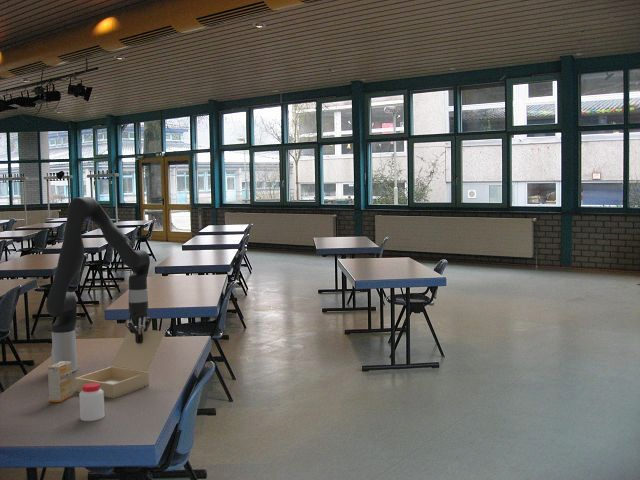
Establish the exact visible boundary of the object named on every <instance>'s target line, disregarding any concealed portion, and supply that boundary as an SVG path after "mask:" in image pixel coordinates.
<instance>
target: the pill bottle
mask: <svg viewBox="0 0 640 480" xmlns="http://www.w3.org/2000/svg"><path fill="white" fill-rule="evenodd" d="M82 388H83V390H82V391H81V392H79V395H78V397H79V399H78V400H79V416H80V420H81V421H83V422H93V421H94V422H95V421H98V420H99V421H100V420H101V419H103V418H105V413H106V412H105V396H104V391H103V390H102V389H101V388H100V384H99V383H87V384H84V385H83V386H82Z"/></svg>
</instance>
